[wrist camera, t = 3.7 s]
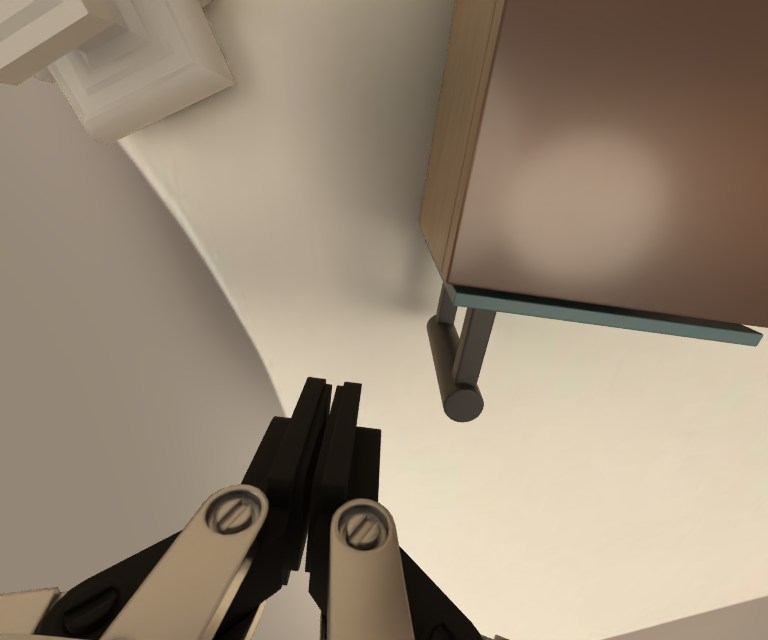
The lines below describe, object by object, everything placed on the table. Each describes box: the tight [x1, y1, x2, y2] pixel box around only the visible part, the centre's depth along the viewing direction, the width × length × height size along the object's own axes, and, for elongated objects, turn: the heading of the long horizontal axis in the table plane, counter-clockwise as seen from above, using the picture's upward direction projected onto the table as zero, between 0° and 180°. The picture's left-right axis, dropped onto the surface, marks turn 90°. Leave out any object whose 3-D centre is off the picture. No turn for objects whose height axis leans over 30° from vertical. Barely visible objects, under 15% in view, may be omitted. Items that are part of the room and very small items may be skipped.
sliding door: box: [425, 238, 763, 422], centre depth 16 cm, size 5×9×10 cm, turn 82°
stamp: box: [0, 0, 236, 145], centre depth 13 cm, size 9×7×8 cm
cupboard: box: [419, 0, 768, 328], centre depth 13 cm, size 11×18×11 cm, turn 82°
